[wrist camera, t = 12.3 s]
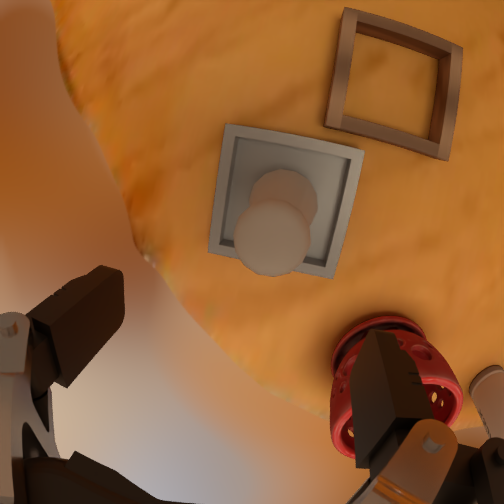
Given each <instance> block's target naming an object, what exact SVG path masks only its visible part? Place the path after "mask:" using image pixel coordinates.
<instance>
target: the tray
mask: <svg viewBox="0 0 504 504" xmlns="http://www.w3.org/2000/svg"><path fill="white" fill-rule="evenodd" d="M364 153H365V151H364V150H360V149H356V148H352V147H348V146H344V145H340V144H336V143H331V142H327V141H323V140H318V139H313V138H309V137H304V136H299V135H294V134H288V133H283V132H278V131H272V130H266V129H260V128H254V127H247V126H240V125H233V124H225V130H224V136H223V143H222V149H221V156H220V163H219V169H218V176H217V183H216V191H215V198H214V205H213V213H212V221H211V229H210V237H209V245H208V253H213V254H217V255H222V256H227V257H231V258H236V259H240V258H239V257H238V255H237V254H236V252H235V246H234V237H233V235H234V230H235V227H236V224H237V221H238V218H239V216H240V215H241V214H242V213H243V212H244V211H245V210H247V209H248V208H249V207H250V206H249V197H250V194H251V191H252V188H253V186H254V184H255V183H256V182H257V181H258V180H259V179H260V178H261V177H262V176H263V175H265V174H266V173H269V172H272V171H275V170H278V169H284V170H290V171H295V172H297V173H299V174H300V175H302V176H303V177H305V178H306V179H308V180H309V181H310V183H311V184H312V186H313V188H314V190H315V192H316V194H317V203H318V210H317V213H316V215H315V217H314V219H313V222H312V224H311V225H310V226H309V227H310V240H311V245H310V247H309V249H308V252H307V254H306V256H305V258H304V260H303V262H302V263H301V264H300V265H299V266H298V267H296V268H295V269H294V270H293V271H296V272H301V273H306V274H310V275H315V276H320V277H324V278H329V279H333V277H334V274H335V270H336V267H337V263H338V260H339V256H340V253H341V249H342V245H343V242H344V238H345V234H346V230H347V227H348V223H349V219H350V215H351V211H352V207H353V203H354V198H355V194H356V190H357V185H358V181H359V177H360V172H361V167H362V163H363V158H364Z"/></svg>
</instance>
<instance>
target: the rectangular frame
mask: <svg viewBox="0 0 504 504" xmlns="http://www.w3.org/2000/svg"><path fill="white" fill-rule="evenodd" d="M355 32H356V33H360V34H364V35H367V36H371V37H375V38H378V39H382V40H385V41H388V42H391V43H394V44H397V45H401V46H403V47H406V48H409V49H412V50H415V51H418V52H420V53H423V54H426V55H428V56H431V57H433V58H436V59H438V60H439V68H438V77H437V86H436V94H435V101H434V108H433V115H432V121H431V127H430V133H429V138H428V140H426V139H423V138H420V137H417V136H414V135H411V134H408V133H405V132H402V131H399V130H396V129H392V128H389V127H386V126H382V125H379V124H375V123H372V122H368V121H364V120H361V119H357V118H353V117H349V116H345V115H343V110H344V104H345V98H346V92H347V86H348V80H349V74H350V67H351V61H352V54H353V47H354V40H355ZM462 57H463V48H462V47H460V46H458V45H456V44H454V43H452V42H449V41H447V40H445V39H443V38H440V37H438V36H435V35H433V34H430V33H428V32H425V31H423V30H420V29H417V28H415V27H412V26H409V25H406V24H403V23H401V22H398V21H394V20H391V19H388V18H385V17H382V16H378V15H375V14H371V13H367V12H364V11H360V10H356V9H352V8H347V7H344V10H343V14H342V17H341V22H340V29H339V36H338V43H337V50H336V56H335V63H334V69H333V75H332V81H331V87H330V93H329V99H328V105H327V110H326V116H325V121H324V127H326V128H330V129H335V130H339V131H343V132H347V133H351V134H355V135H359V136H363V137H367V138H370V139H374V140H378V141H381V142H385V143H388V144H391V145H395V146H398V147H401V148H404V149H408V150H411V151H414V152H417V153H420V154H423V155H426V156H429V157H432V158H434V159H439V160H443V161H448V160H449V156H450V151H451V145H452V140H453V134H454V128H455V122H456V116H457V108H458V101H459V92H460V83H461V72H462Z"/></svg>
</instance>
